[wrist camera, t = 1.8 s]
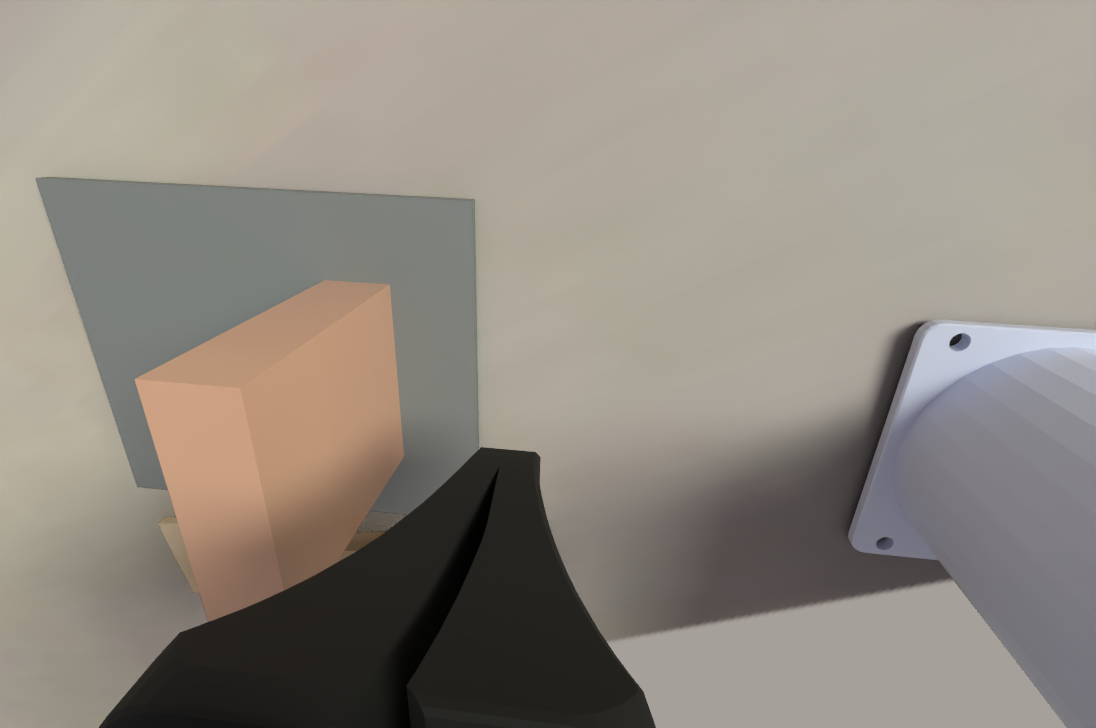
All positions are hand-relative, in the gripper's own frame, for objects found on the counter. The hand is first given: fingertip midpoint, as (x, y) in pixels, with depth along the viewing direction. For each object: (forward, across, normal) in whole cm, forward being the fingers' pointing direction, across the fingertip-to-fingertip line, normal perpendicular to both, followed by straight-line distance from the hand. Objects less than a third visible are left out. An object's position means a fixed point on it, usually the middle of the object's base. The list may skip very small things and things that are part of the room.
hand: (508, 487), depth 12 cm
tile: (+5, +6, 0) cm, 8 cm away
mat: (+6, +8, 0) cm, 10 cm away
